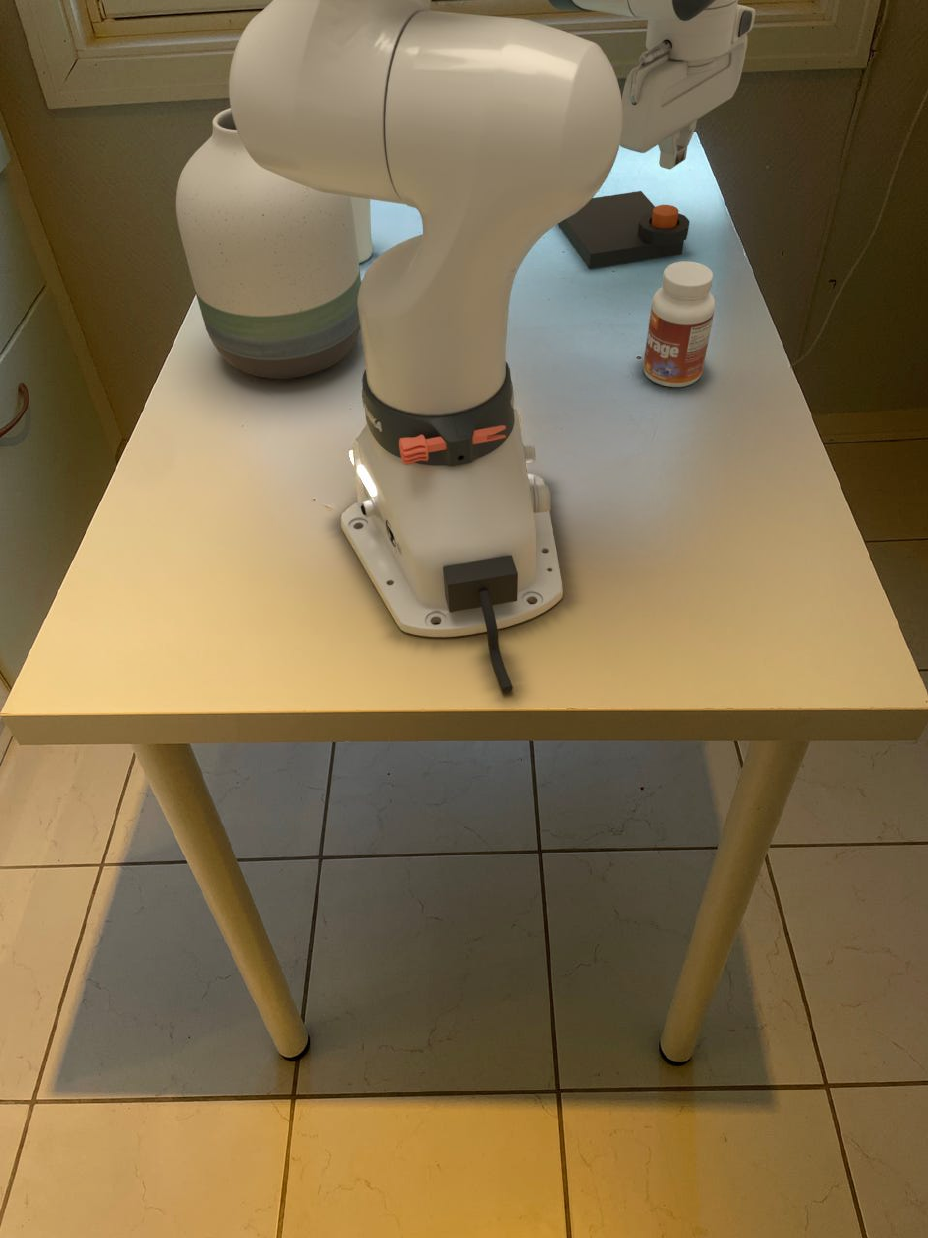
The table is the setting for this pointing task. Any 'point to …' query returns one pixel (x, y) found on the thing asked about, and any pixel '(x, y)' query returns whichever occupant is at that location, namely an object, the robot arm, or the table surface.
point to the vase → (267, 261)
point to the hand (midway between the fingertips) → (672, 163)
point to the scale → (622, 231)
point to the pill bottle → (680, 325)
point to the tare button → (664, 216)
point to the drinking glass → (362, 227)
